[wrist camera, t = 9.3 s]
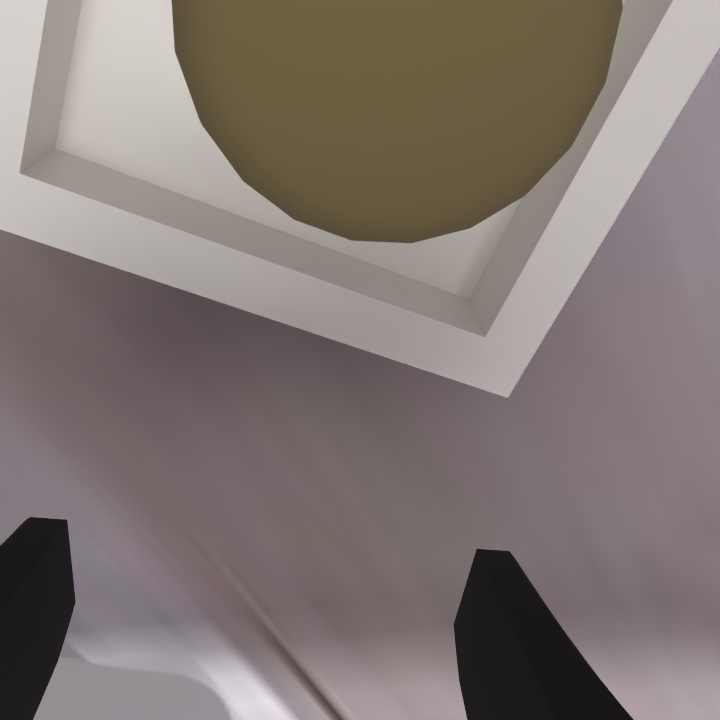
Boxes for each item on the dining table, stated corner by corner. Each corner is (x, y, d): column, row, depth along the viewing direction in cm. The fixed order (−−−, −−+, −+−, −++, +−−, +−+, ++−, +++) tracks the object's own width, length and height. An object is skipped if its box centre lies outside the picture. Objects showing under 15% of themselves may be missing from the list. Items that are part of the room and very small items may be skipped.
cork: (206, -152, 15) (-5, -348, 5) (486, -182, 15) (781, -435, 5) (254, 136, 18) (174, 340, 8) (486, 112, 18) (672, 288, 8)
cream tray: (741, -108, 16) (821, -121, 14) (486, 346, 22) (507, 397, 19) (91, -479, 13) (32, -591, 10) (-5, 175, 19) (-58, 210, 16)
